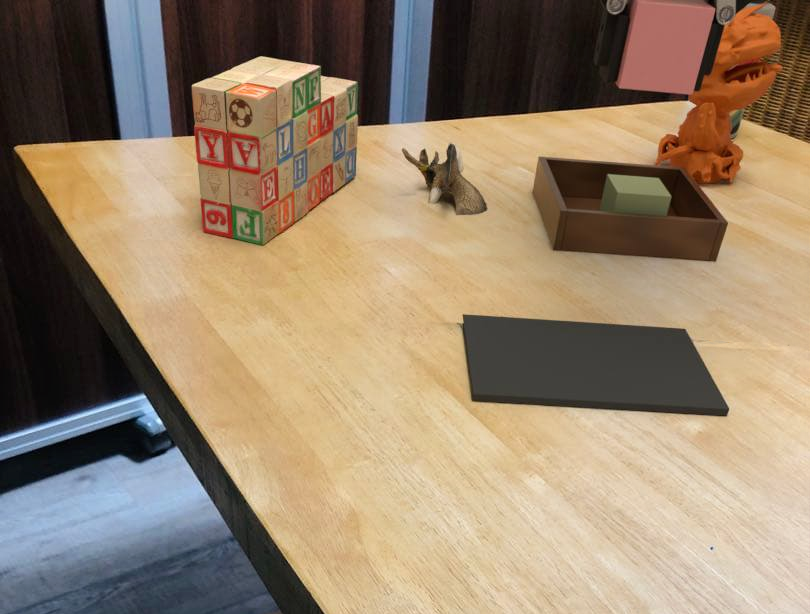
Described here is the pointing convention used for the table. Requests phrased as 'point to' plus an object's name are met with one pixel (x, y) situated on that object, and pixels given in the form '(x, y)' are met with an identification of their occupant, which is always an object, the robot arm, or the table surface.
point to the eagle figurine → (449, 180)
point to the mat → (587, 365)
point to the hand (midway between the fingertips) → (648, 79)
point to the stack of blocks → (271, 145)
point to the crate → (625, 232)
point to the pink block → (664, 45)
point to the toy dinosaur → (725, 99)
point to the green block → (635, 195)
